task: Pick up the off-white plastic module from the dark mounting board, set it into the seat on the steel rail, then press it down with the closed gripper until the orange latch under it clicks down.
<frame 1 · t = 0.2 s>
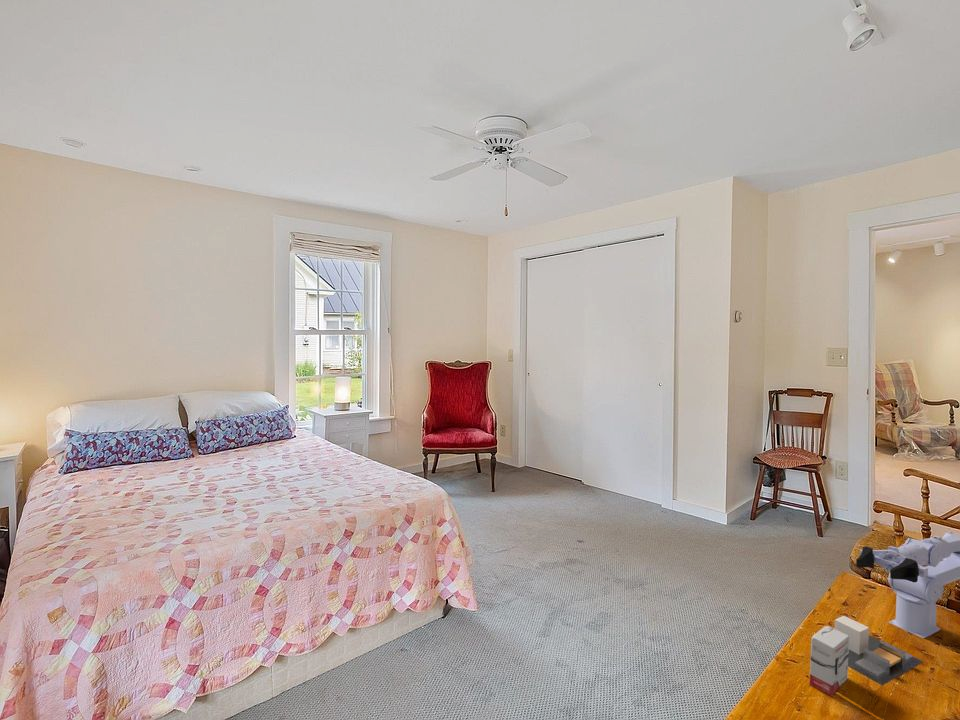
hand: (874, 568, 129), 21 cm above the table, tool horizontal, fingers open, 7 cm apart
latch: (884, 657, 124), point 2 cm above the table, slide at 0.0 cm
ink box: (828, 684, 119), on the table
module: (850, 645, 131), point 1 cm above the table, touching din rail
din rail: (865, 656, 128), on the table
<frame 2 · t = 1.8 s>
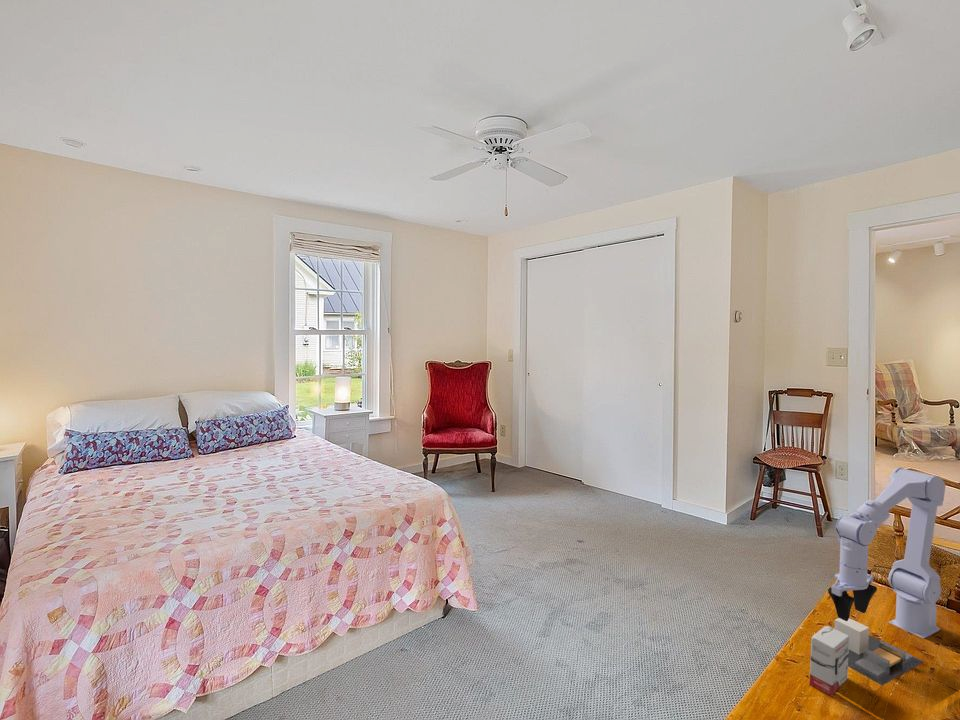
hand: (851, 615, 130), 9 cm above the table, tool pointing down, fingers open, 7 cm apart
nothing on the table moved.
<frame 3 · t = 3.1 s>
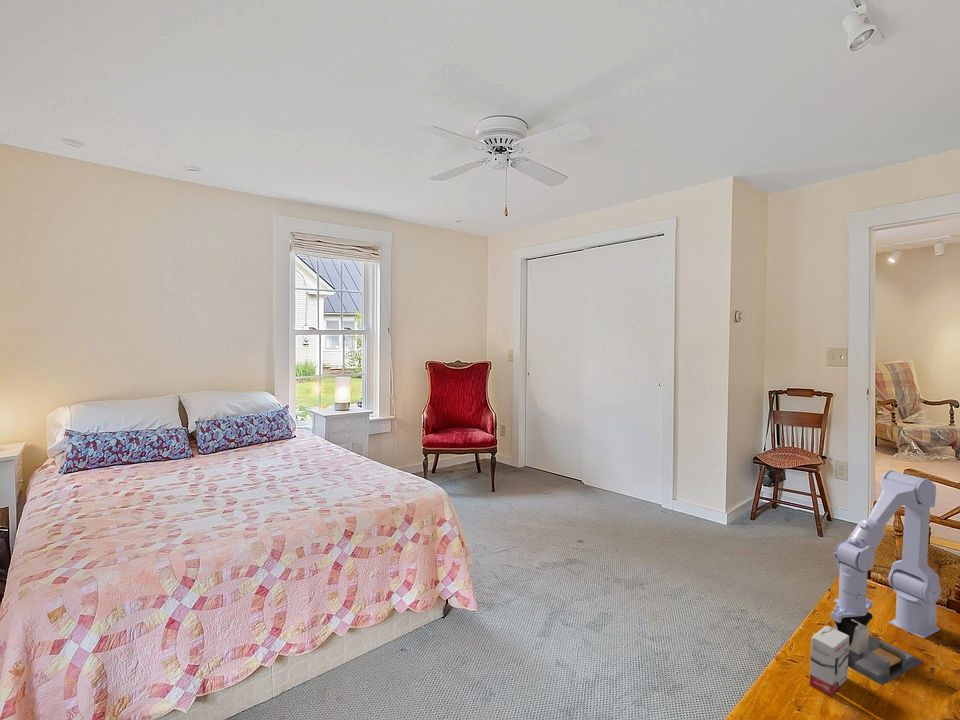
hand: (851, 640, 131), 2 cm above the table, tool pointing down, fingers closed on module, 4 cm apart
module: (850, 645, 131), point 1 cm above the table, touching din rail, gripper
everything else where it was.
when the fingers open (5 cm above the table, at t = 6.0 s): module drops 1 cm, resting on latch.
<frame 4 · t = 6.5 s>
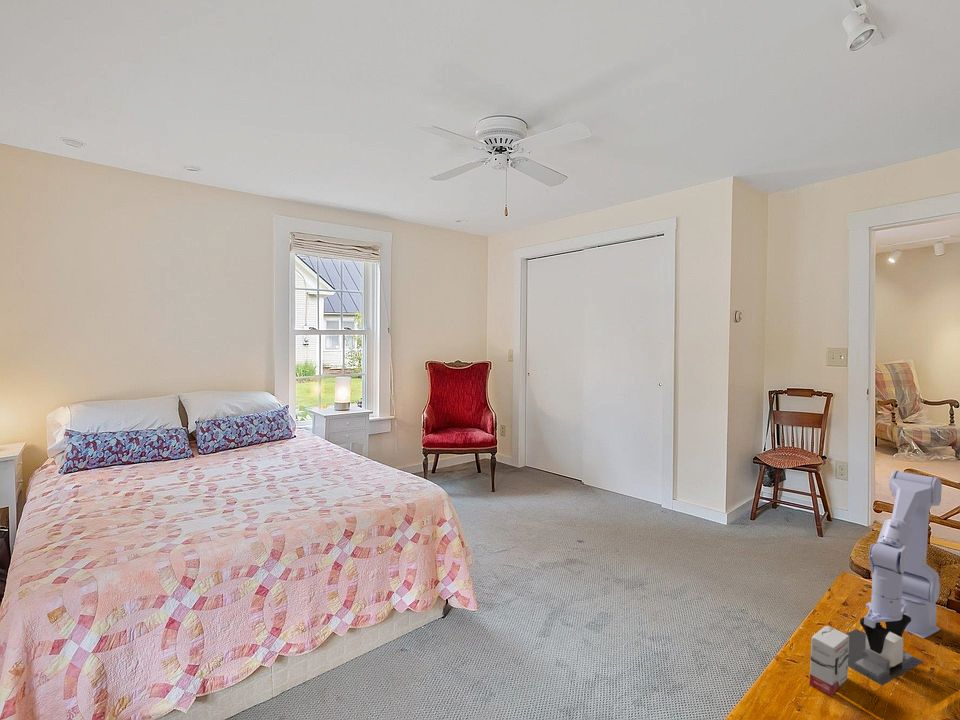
hand: (884, 646, 124), 5 cm above the table, tool pointing down, fingers open, 7 cm apart
latch: (884, 658, 124), point 2 cm above the table, slide at 0.3 cm, touching module
module: (883, 656, 124), point 2 cm above the table, touching latch
everything else where it was.
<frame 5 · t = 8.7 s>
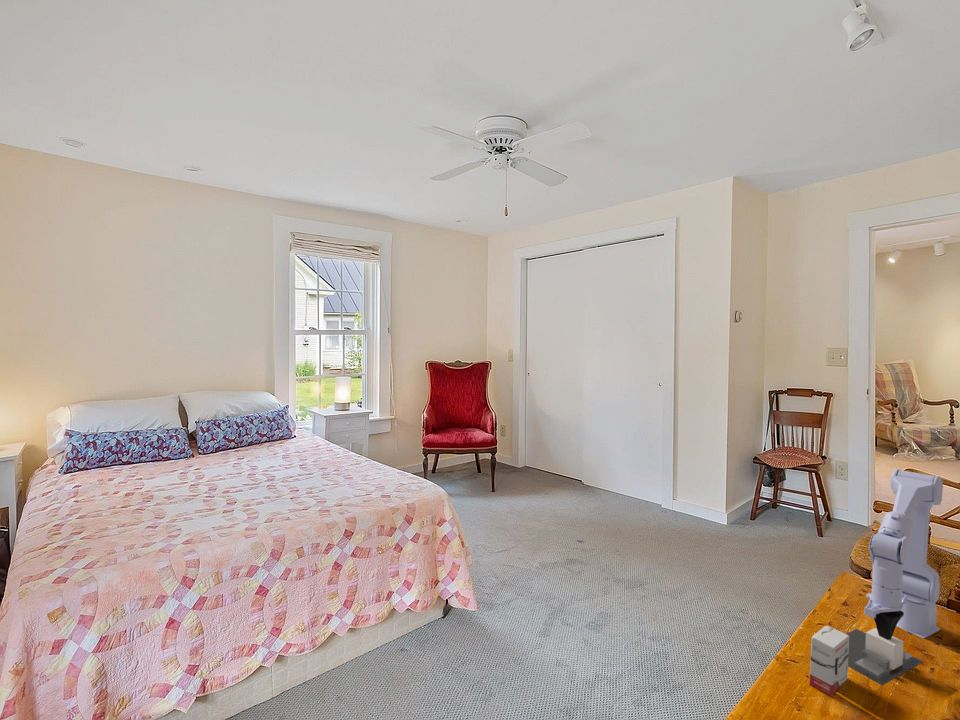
hand: (884, 637, 124), 7 cm above the table, tool pointing down, fingers closed, pressing on module
latch: (884, 661, 124), point 1 cm above the table, slide at 1.1 cm, touching module
module: (883, 659, 124), point 1 cm above the table, touching gripper, latch
everything else where it was.
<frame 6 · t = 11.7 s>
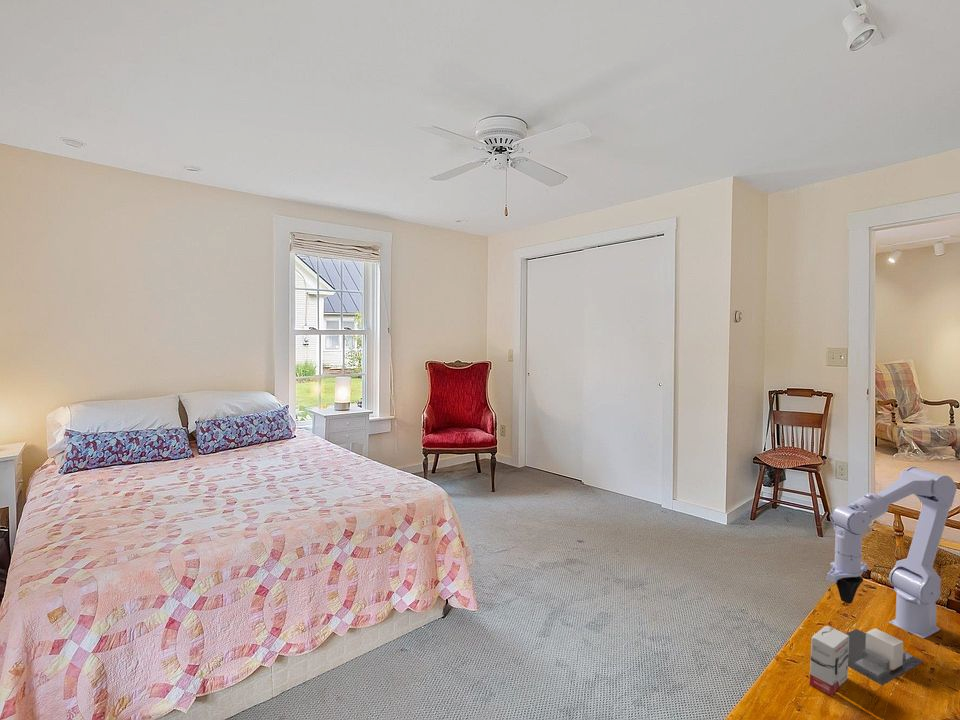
hand: (846, 601, 135), 10 cm above the table, tool pointing down, fingers closed
module: (883, 660, 124), point 1 cm above the table, touching latch
everything else where it was.
at the end: latch slide at 1.2 cm; module 0.2 cm from the target spot on the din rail, point 1.4 cm above the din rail's base; module tilted 0° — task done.
